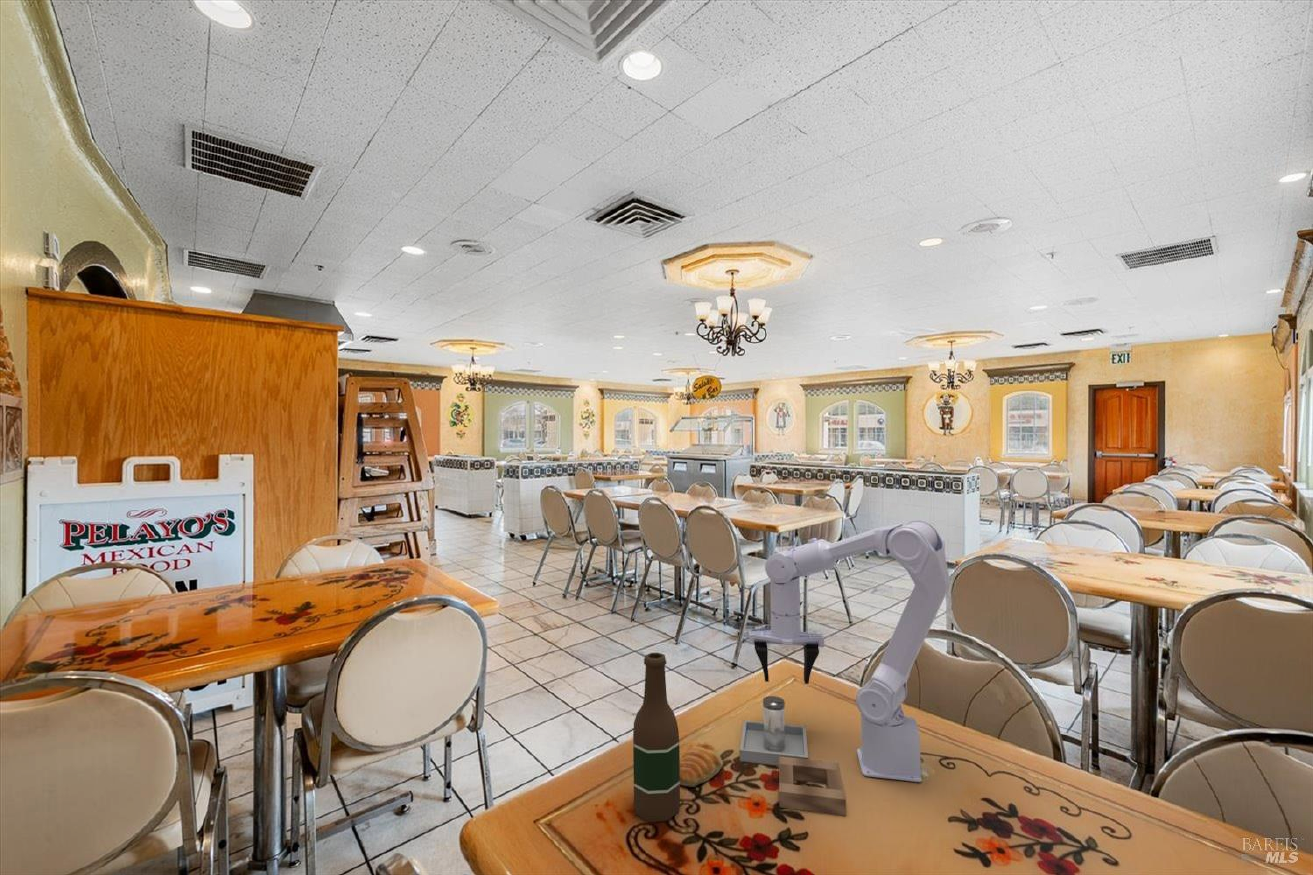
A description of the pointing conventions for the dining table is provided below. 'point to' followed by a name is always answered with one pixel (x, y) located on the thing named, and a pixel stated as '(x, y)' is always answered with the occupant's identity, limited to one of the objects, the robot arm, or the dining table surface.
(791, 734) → the tray
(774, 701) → the steel pin
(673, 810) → the beer bottle
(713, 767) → the pastry
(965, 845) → the dining table surface
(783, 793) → the eye block
